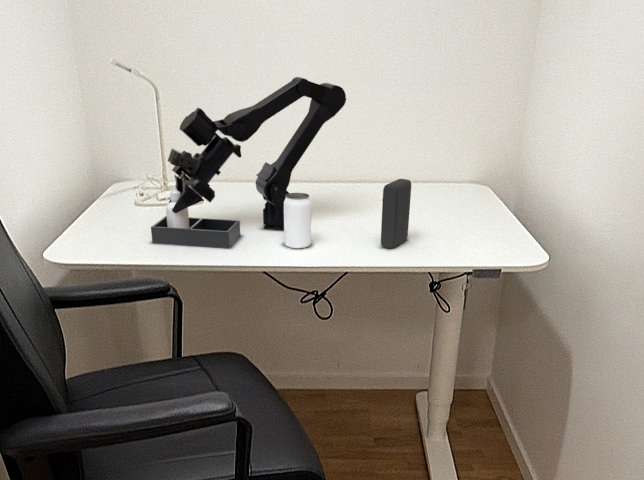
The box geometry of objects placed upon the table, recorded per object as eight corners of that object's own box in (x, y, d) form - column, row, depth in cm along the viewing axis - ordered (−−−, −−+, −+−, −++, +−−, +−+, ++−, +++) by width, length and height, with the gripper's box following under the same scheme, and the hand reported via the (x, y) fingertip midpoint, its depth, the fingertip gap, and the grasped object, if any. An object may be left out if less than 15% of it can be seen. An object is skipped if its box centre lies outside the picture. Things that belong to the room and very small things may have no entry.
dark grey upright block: (394, 237, 187) (398, 177, 179) (409, 240, 185) (413, 179, 178) (378, 247, 180) (381, 184, 172) (393, 250, 178) (396, 186, 171)
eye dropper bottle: (192, 236, 183) (188, 187, 177) (170, 239, 181) (164, 189, 175) (188, 231, 186) (184, 183, 180) (166, 234, 184) (161, 185, 179)
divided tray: (166, 231, 189) (165, 215, 187) (240, 236, 186) (239, 220, 184) (152, 243, 180) (150, 227, 178) (229, 248, 178) (228, 232, 176)
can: (301, 250, 177) (301, 200, 171) (279, 246, 180) (278, 196, 174) (315, 243, 181) (316, 194, 176) (294, 239, 184) (293, 190, 178)
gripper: (176, 129, 181) (137, 179, 182) (197, 143, 166) (154, 197, 168) (210, 160, 188) (171, 208, 189) (233, 175, 173) (191, 227, 174)
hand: (171, 209), depth 180 cm, fingers closed on eye dropper bottle, 4 cm apart
